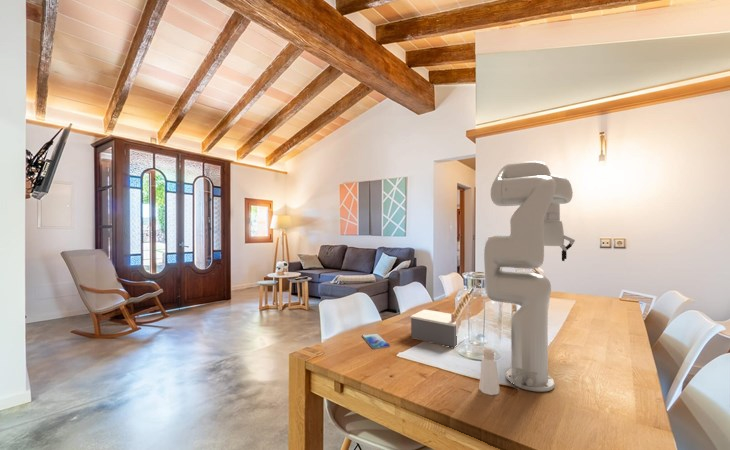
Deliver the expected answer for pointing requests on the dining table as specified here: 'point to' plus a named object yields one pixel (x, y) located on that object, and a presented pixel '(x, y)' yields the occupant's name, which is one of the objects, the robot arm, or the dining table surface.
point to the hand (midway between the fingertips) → (549, 260)
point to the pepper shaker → (489, 374)
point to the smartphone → (375, 341)
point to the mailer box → (433, 332)
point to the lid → (435, 317)
